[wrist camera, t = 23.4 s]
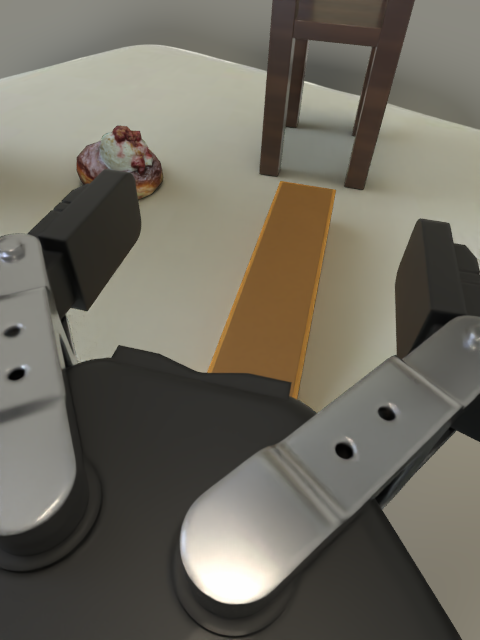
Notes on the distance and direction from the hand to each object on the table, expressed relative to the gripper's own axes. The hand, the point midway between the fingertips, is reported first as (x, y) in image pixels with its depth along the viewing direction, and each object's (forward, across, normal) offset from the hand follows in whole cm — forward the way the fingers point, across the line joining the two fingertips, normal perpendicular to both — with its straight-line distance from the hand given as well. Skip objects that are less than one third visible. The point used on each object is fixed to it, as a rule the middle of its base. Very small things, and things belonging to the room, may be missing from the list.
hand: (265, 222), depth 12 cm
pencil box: (+11, 0, +13) cm, 17 cm away
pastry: (+23, +17, +13) cm, 31 cm away
